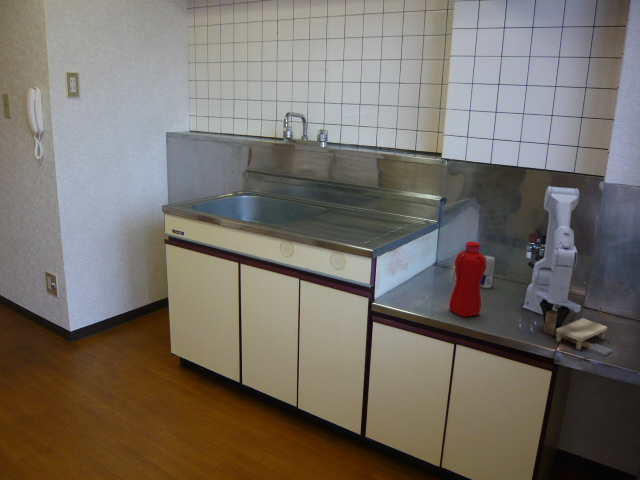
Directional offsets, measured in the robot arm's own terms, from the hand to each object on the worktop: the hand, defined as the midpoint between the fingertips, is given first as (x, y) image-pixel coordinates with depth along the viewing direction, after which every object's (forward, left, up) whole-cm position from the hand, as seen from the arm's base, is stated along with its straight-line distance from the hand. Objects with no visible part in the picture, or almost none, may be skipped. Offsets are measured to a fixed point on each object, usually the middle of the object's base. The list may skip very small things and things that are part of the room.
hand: (552, 325), depth 175 cm
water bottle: (-26, -12, -3) cm, 29 cm away
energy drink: (-39, +18, -3) cm, 43 cm away
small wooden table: (+8, +3, -2) cm, 9 cm away
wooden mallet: (+6, 0, -2) cm, 6 cm away
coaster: (+16, 0, -3) cm, 16 cm away
